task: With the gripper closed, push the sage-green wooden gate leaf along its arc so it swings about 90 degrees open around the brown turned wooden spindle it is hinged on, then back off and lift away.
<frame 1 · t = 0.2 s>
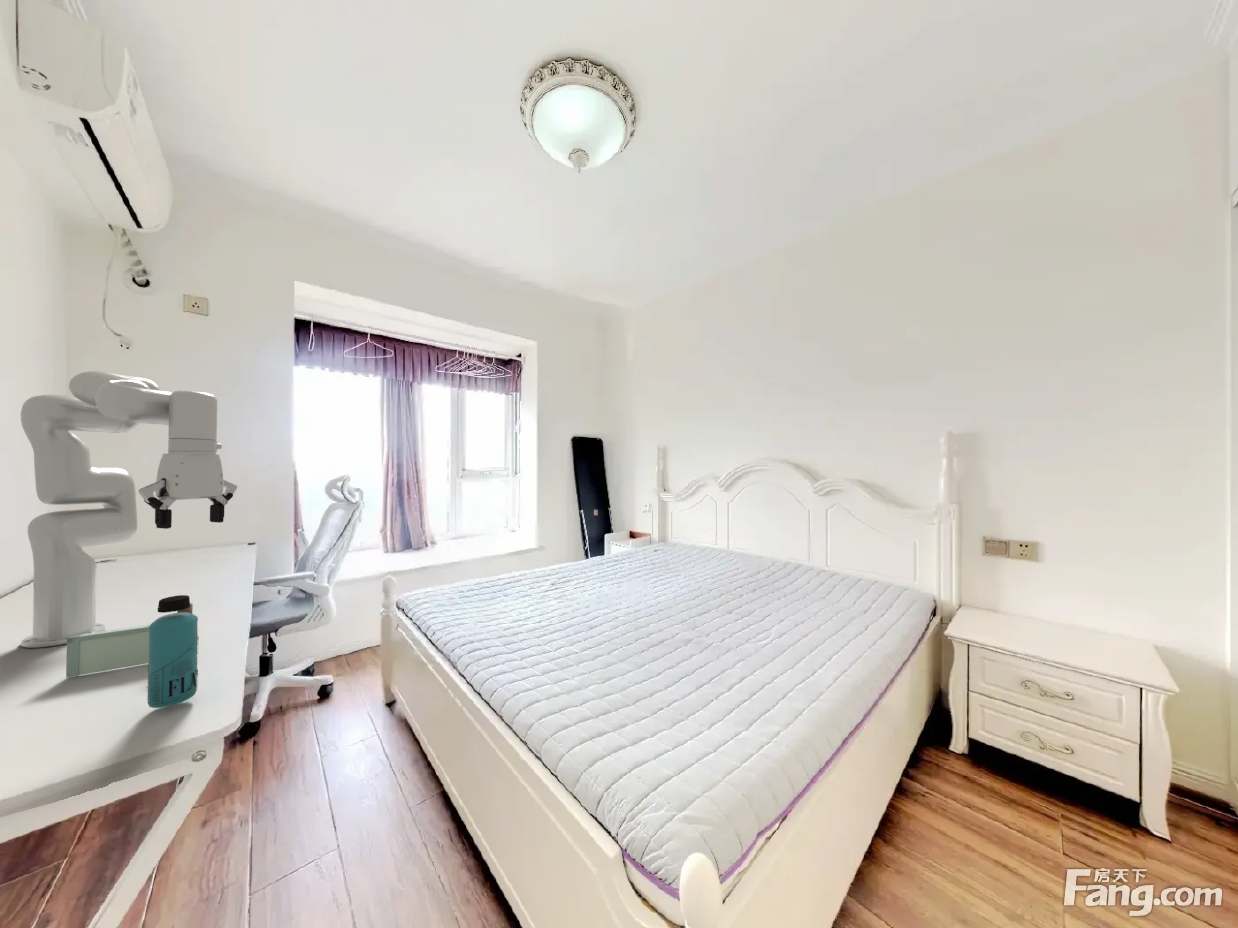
hand: (191, 524, 93), 31 cm above the table, tool pointing down, fingers open, 9 cm apart
gate leaf: (121, 648, 90), point 4 cm above the table, hinge at 0.0°
beverage bottle: (172, 707, 77), on the table
brown turned wooden spindle: (184, 657, 95), on the table
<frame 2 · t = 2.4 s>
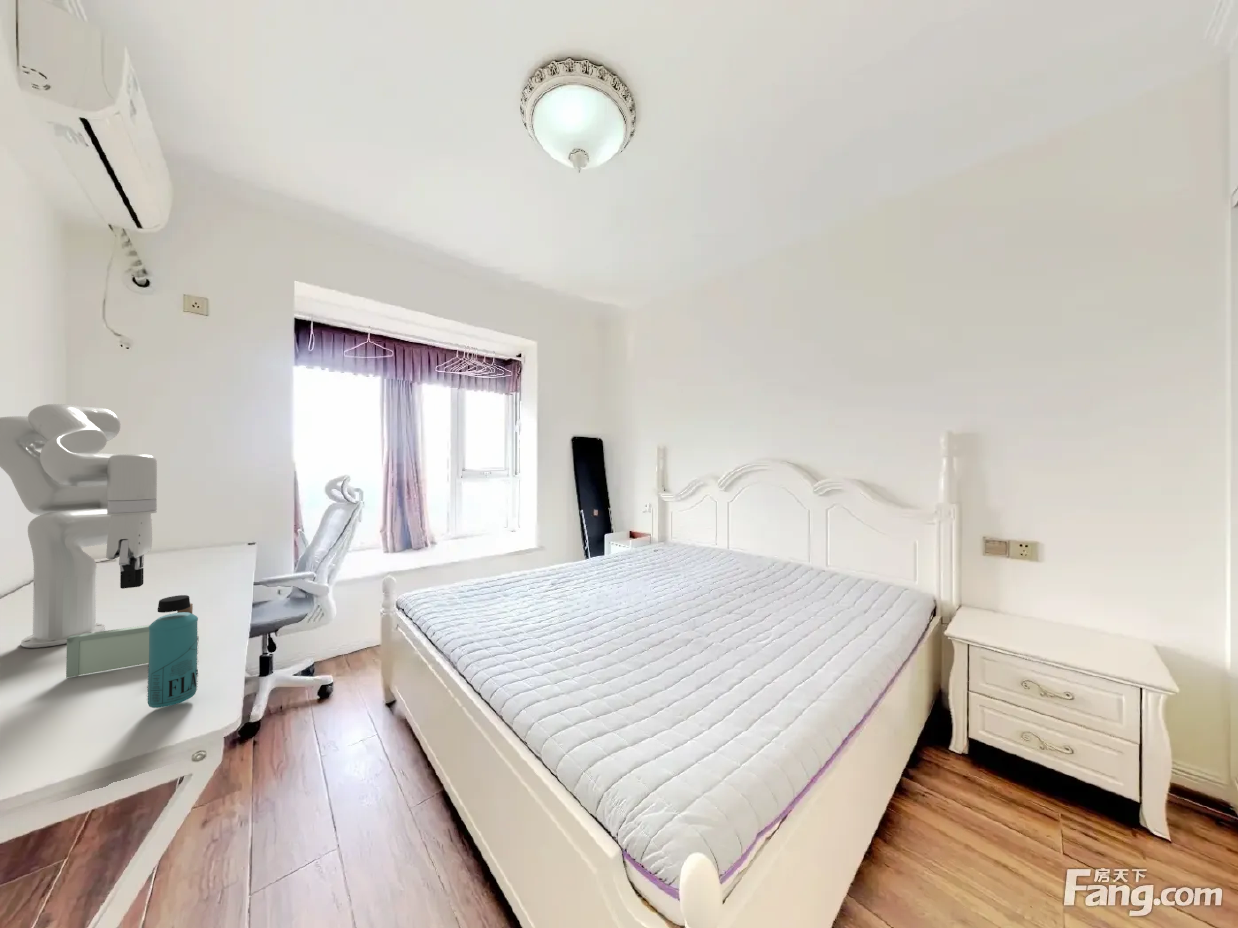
hand: (132, 586, 97), 15 cm above the table, tool pointing down, fingers closed
nothing on the table moved.
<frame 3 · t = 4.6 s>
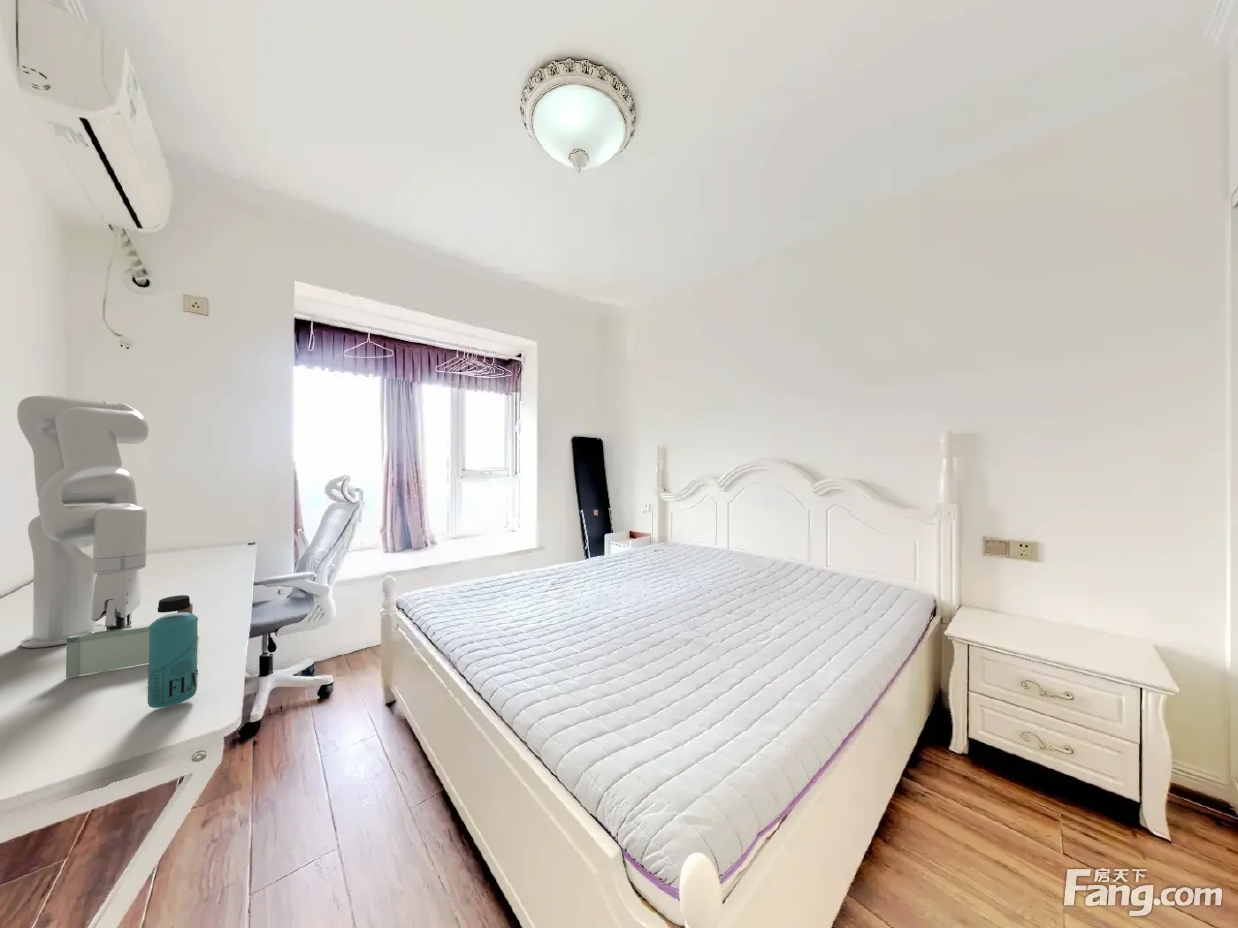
hand: (118, 646, 92), 4 cm above the table, tool pointing down, fingers closed
gate leaf: (121, 648, 90), point 4 cm above the table, hinge at 0.4°, touching gripper
everything else where it was.
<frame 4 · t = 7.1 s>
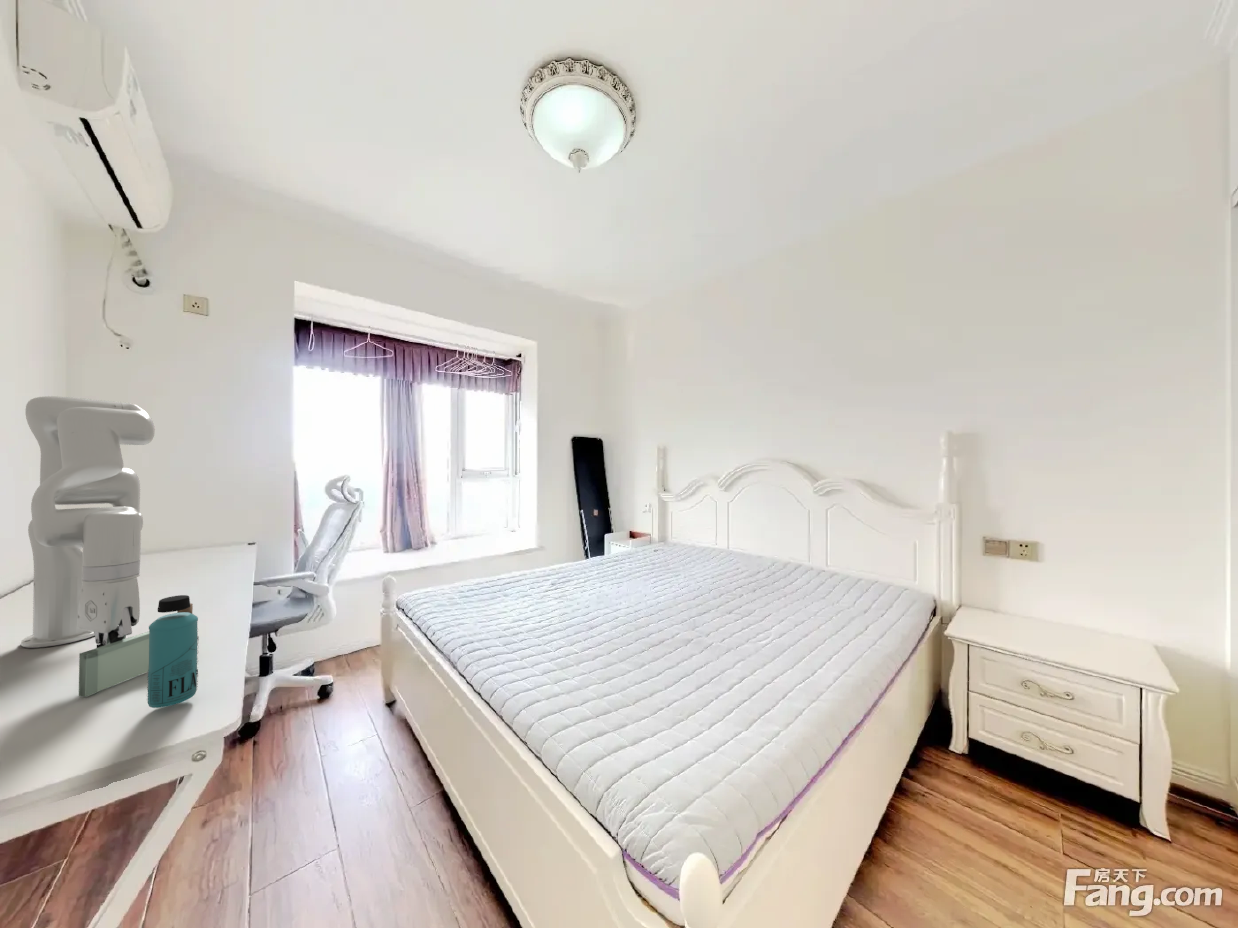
hand: (110, 661, 85), 4 cm above the table, tool pointing down, fingers closed
gate leaf: (131, 657, 86), point 4 cm above the table, hinge at 49.1°, touching gripper
everything else where it was.
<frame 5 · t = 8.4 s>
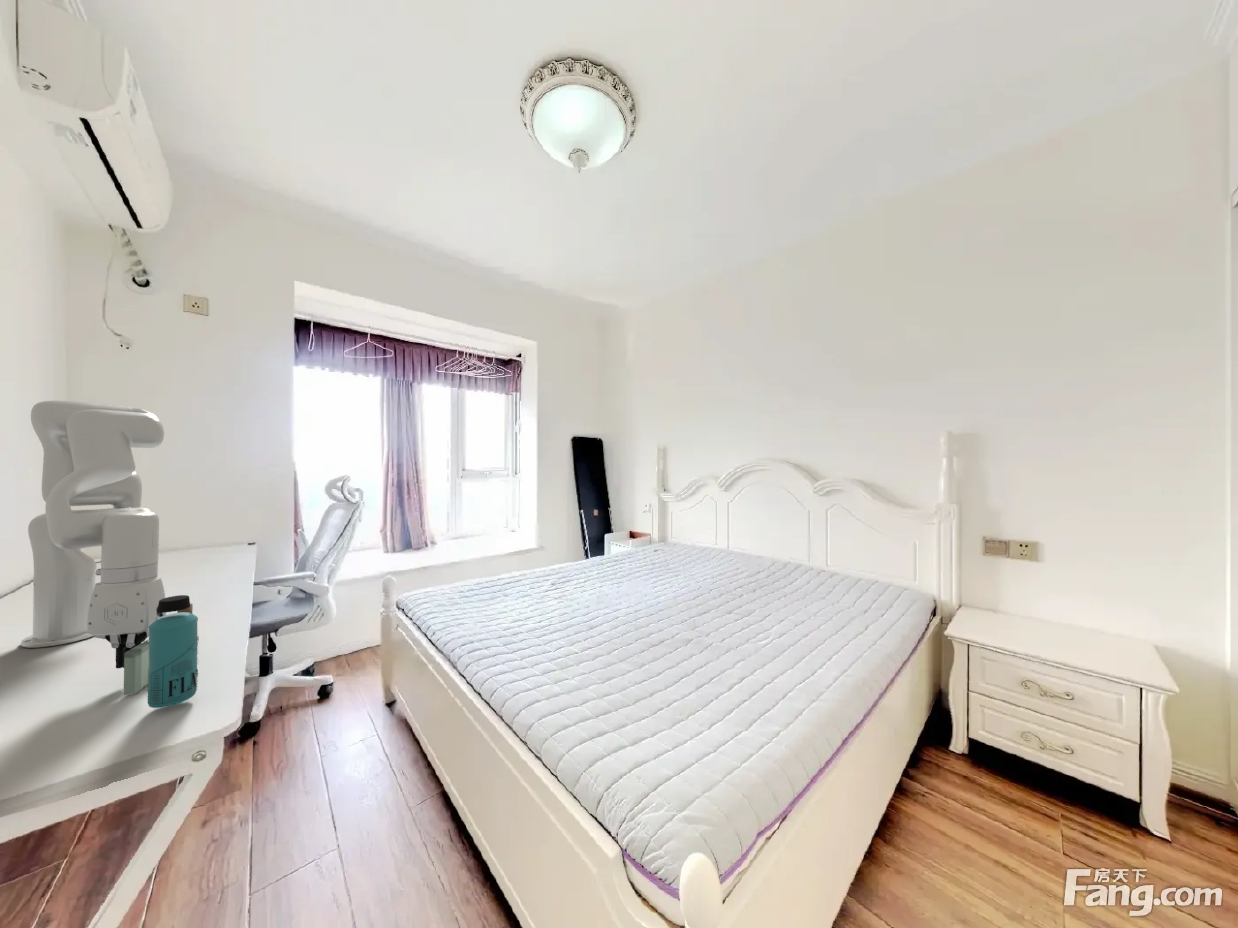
hand: (128, 664, 84), 4 cm above the table, tool pointing down, fingers closed
gate leaf: (155, 656, 86), point 4 cm above the table, hinge at 75.8°, touching gripper
everything else where it was.
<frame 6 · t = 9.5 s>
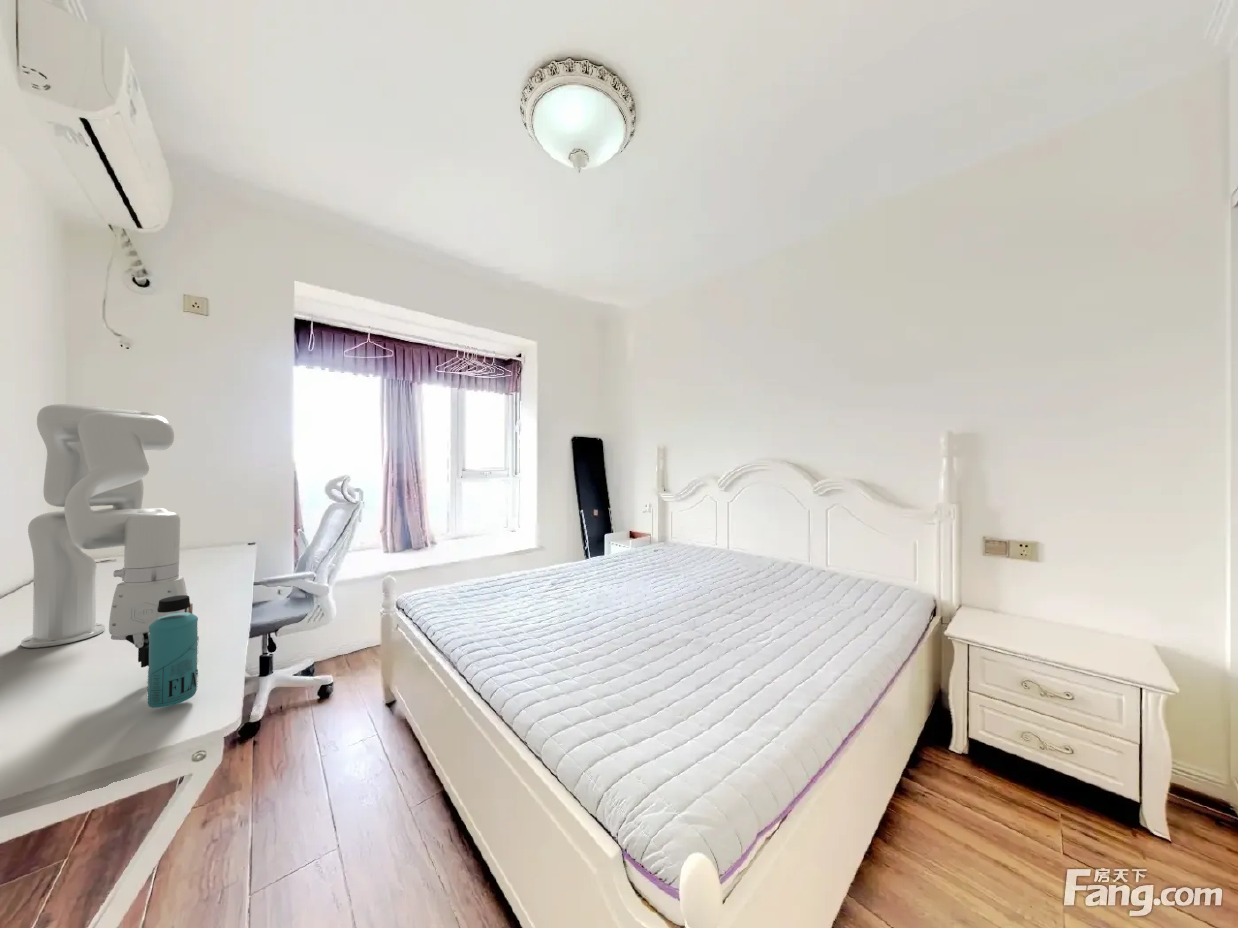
hand: (150, 663, 85), 4 cm above the table, tool pointing down, fingers closed
gate leaf: (177, 653, 88), point 4 cm above the table, hinge at 95.1°, touching gripper
everything else where it was.
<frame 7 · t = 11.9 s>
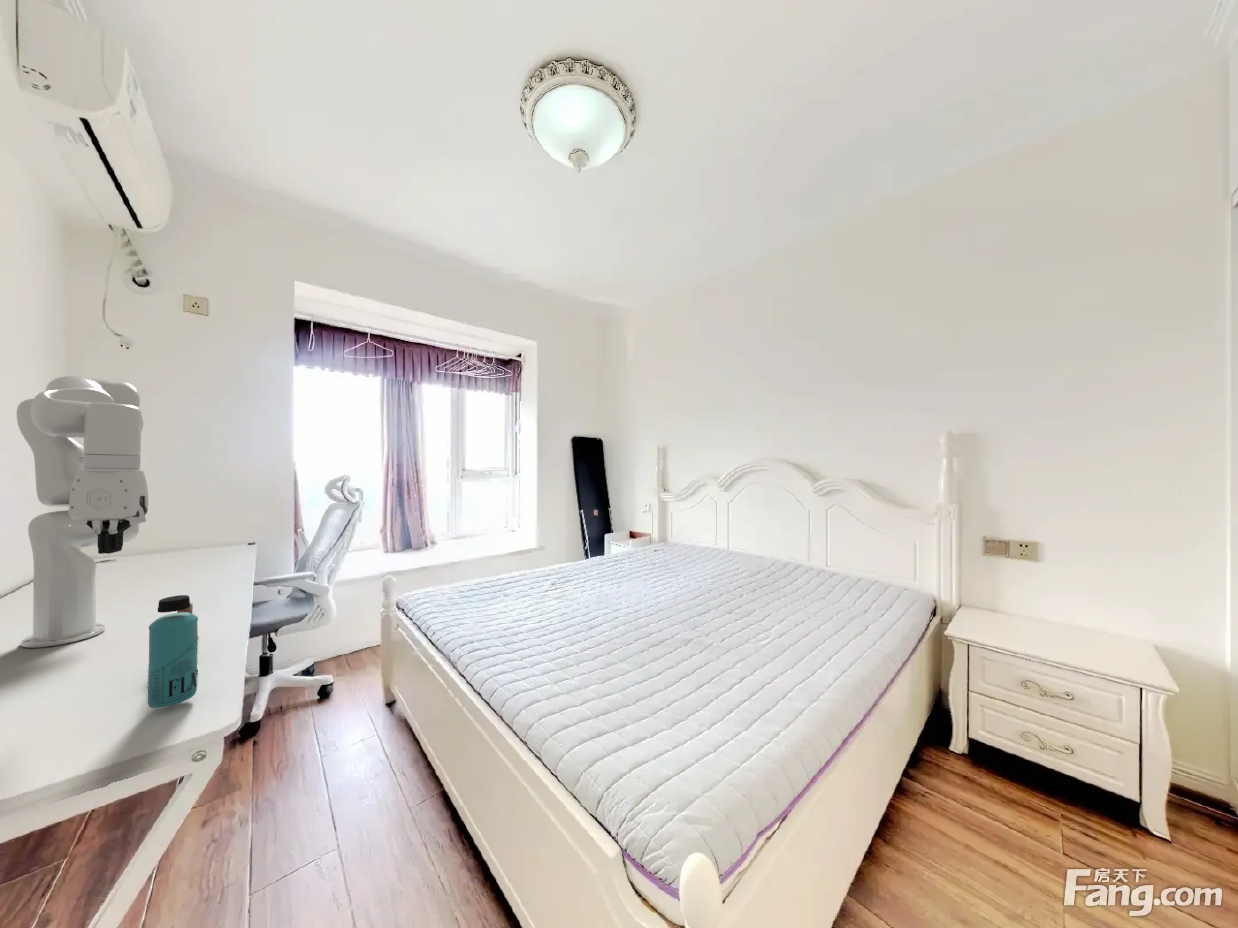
hand: (110, 552, 87), 26 cm above the table, tool pointing down, fingers closed
gate leaf: (177, 653, 88), point 4 cm above the table, hinge at 95.3°
everything else where it was.
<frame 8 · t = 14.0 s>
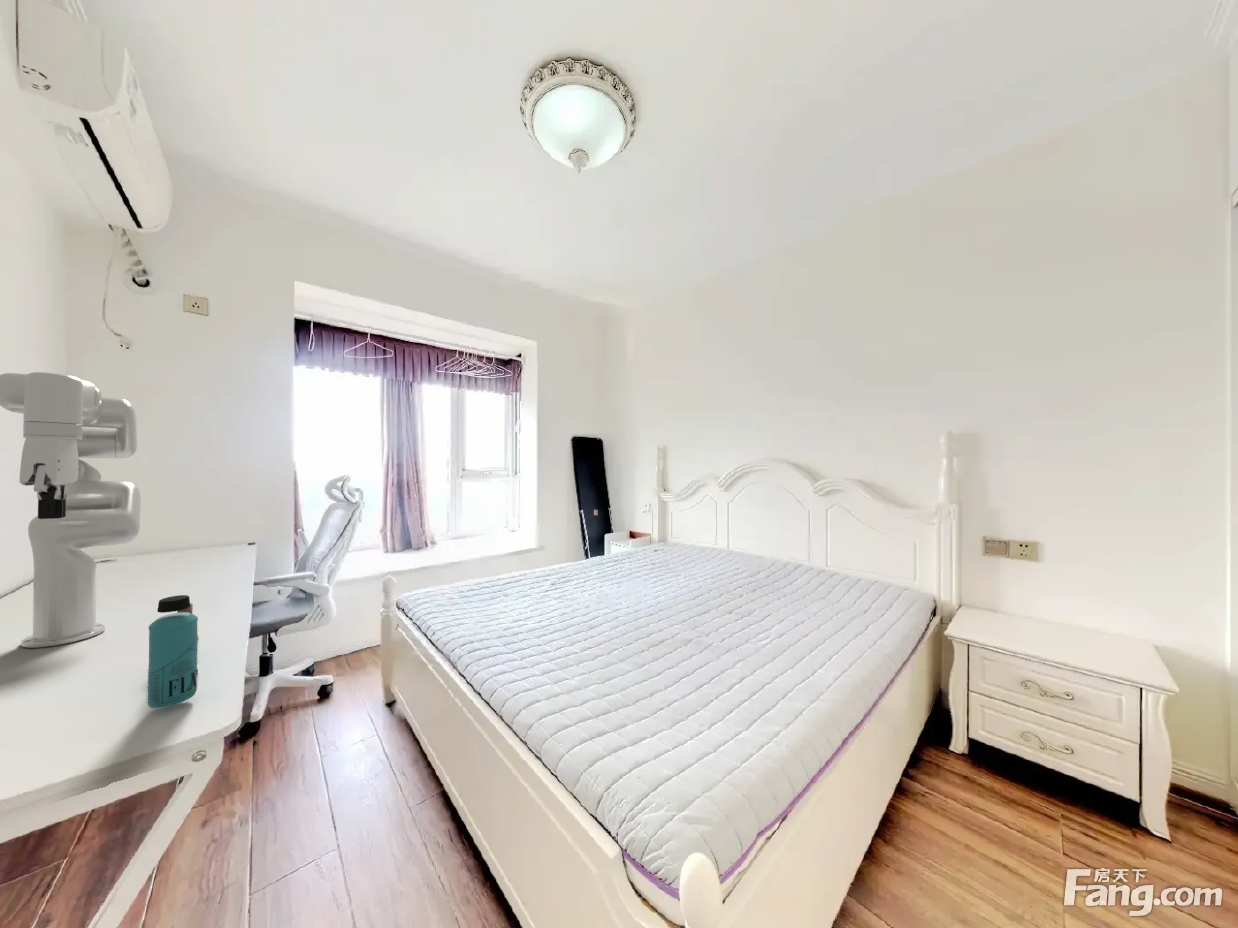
hand: (51, 517, 90), 32 cm above the table, tool pointing down, fingers closed
nothing on the table moved.
at the end: gate leaf at +95° (first picture: +0°); beverage bottle moved 0.2 cm from its start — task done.
